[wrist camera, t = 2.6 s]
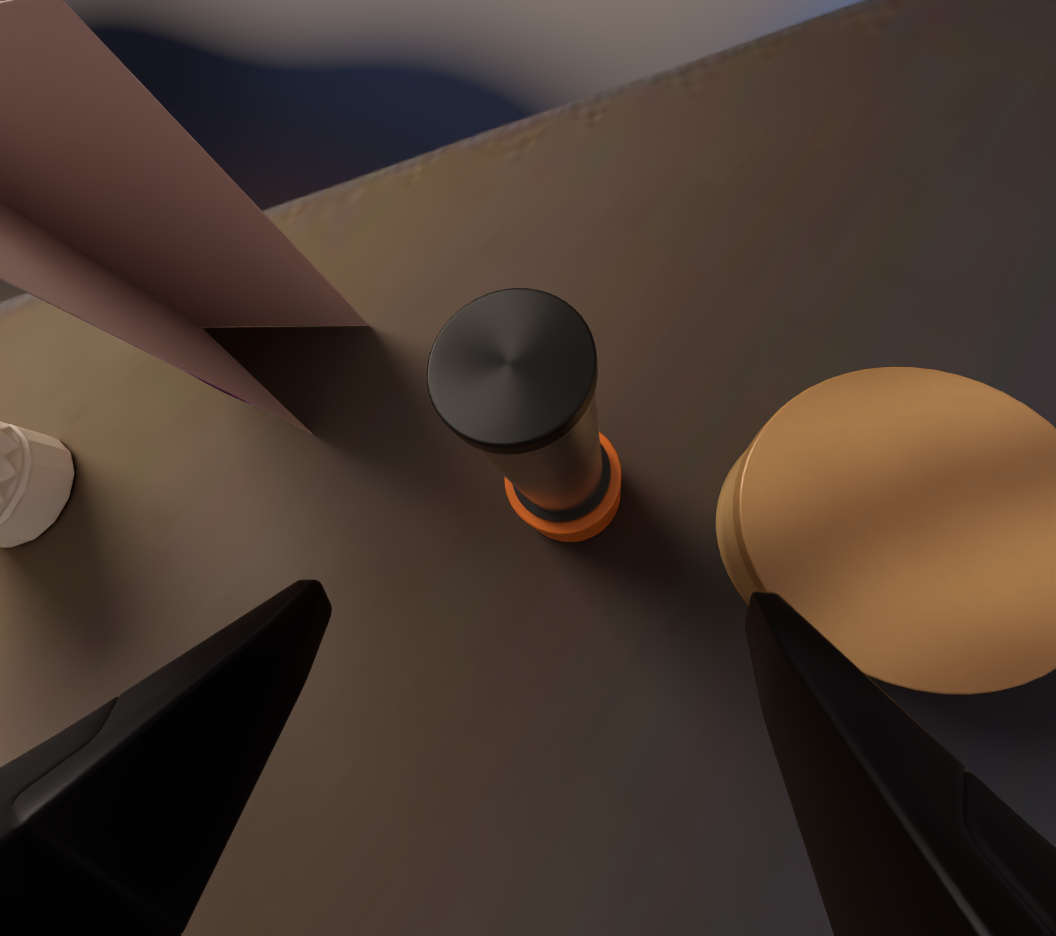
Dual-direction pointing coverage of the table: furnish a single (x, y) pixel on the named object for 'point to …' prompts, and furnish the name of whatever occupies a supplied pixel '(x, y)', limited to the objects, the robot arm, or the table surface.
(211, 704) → the robot arm
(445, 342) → the torch
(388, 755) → the table surface
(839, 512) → the birch box
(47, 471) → the white cup
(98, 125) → the greeting card
